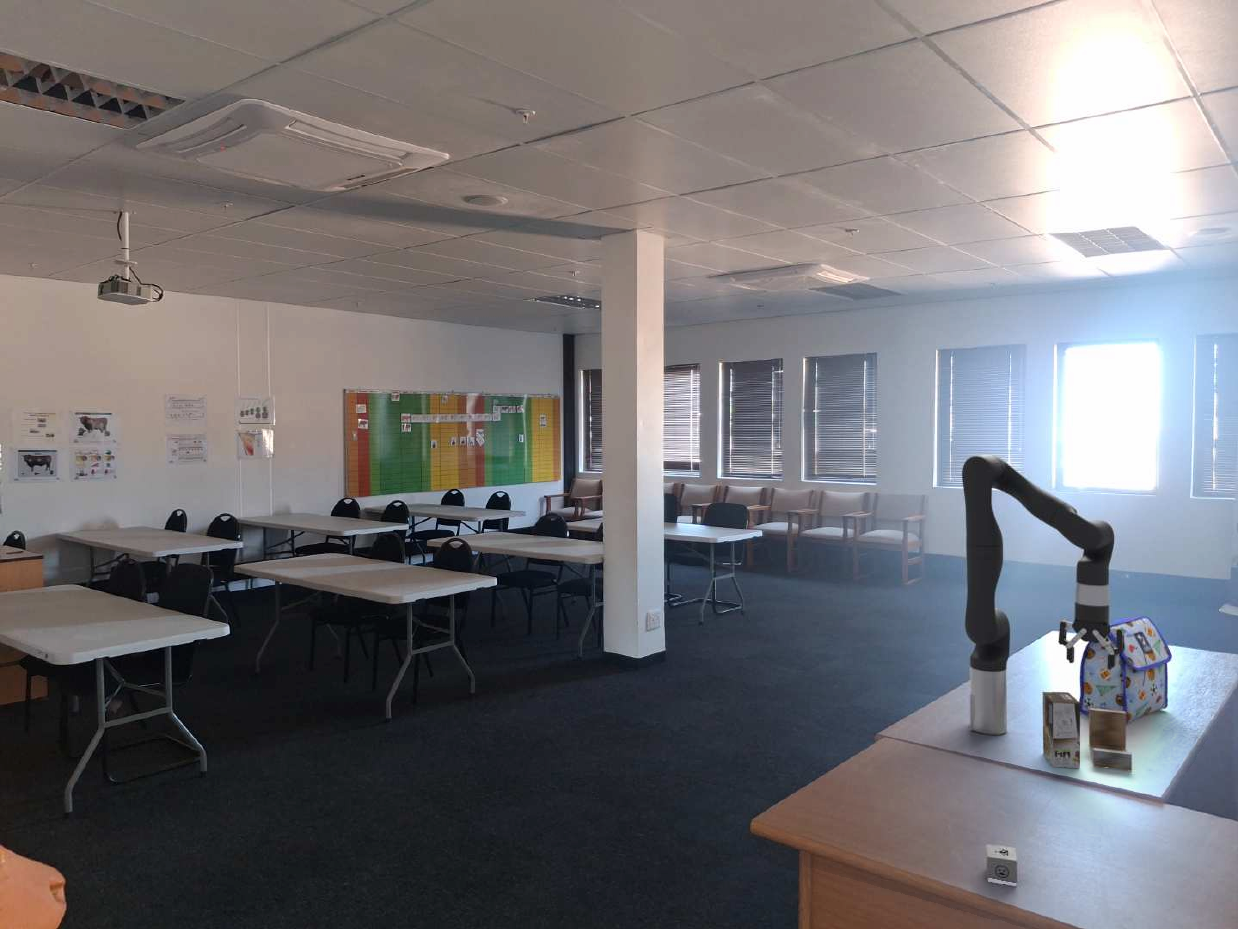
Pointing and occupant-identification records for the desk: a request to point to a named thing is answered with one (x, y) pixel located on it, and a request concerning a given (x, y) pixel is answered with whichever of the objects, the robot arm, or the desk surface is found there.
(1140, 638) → the lunch bag
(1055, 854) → the desk surface
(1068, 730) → the coffee box
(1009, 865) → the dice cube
